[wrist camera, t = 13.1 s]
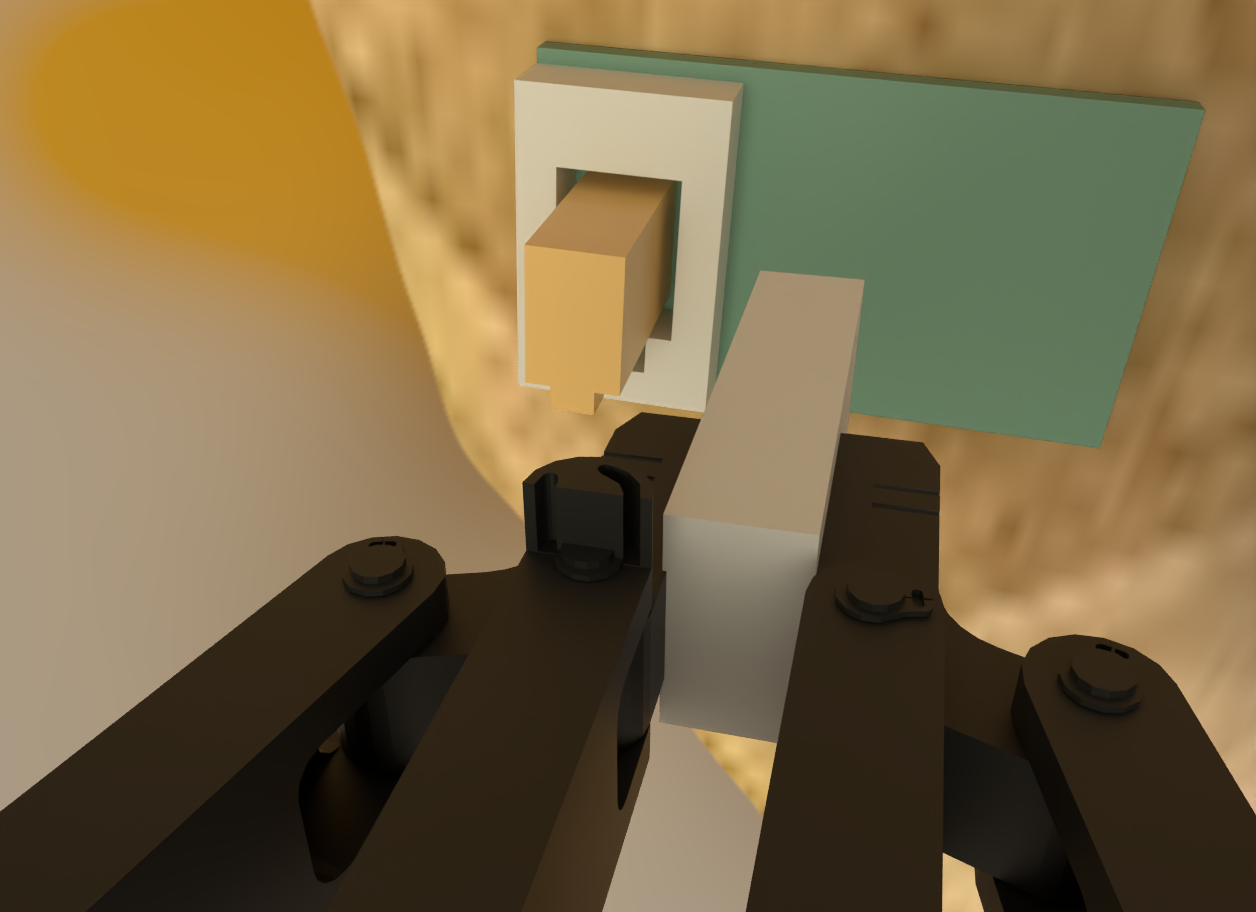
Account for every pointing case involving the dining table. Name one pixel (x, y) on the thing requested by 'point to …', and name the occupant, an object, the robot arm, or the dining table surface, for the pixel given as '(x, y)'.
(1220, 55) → the dining table surface
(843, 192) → the board
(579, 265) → the plug
